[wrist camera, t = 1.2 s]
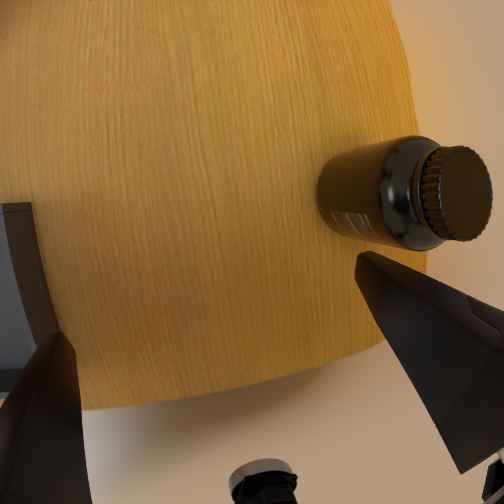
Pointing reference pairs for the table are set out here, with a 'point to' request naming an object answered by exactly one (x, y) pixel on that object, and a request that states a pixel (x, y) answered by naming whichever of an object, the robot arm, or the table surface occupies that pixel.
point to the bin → (20, 294)
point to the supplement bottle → (407, 193)
